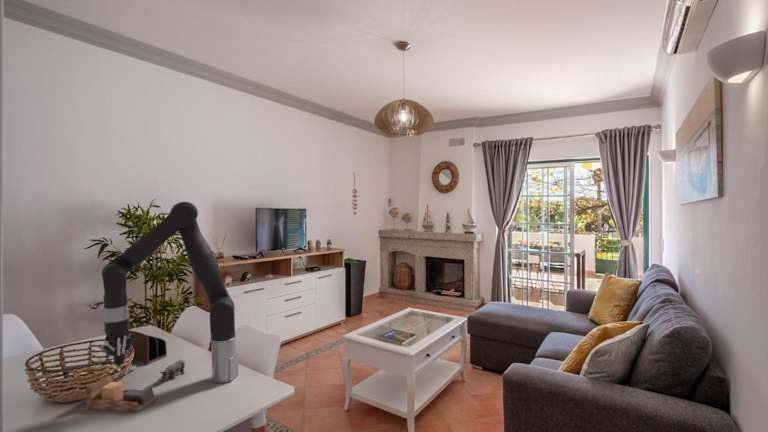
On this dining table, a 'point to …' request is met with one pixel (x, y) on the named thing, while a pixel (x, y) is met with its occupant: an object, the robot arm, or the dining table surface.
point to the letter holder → (148, 348)
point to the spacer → (113, 391)
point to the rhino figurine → (173, 370)
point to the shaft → (138, 395)
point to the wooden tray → (98, 403)
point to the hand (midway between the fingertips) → (119, 364)
